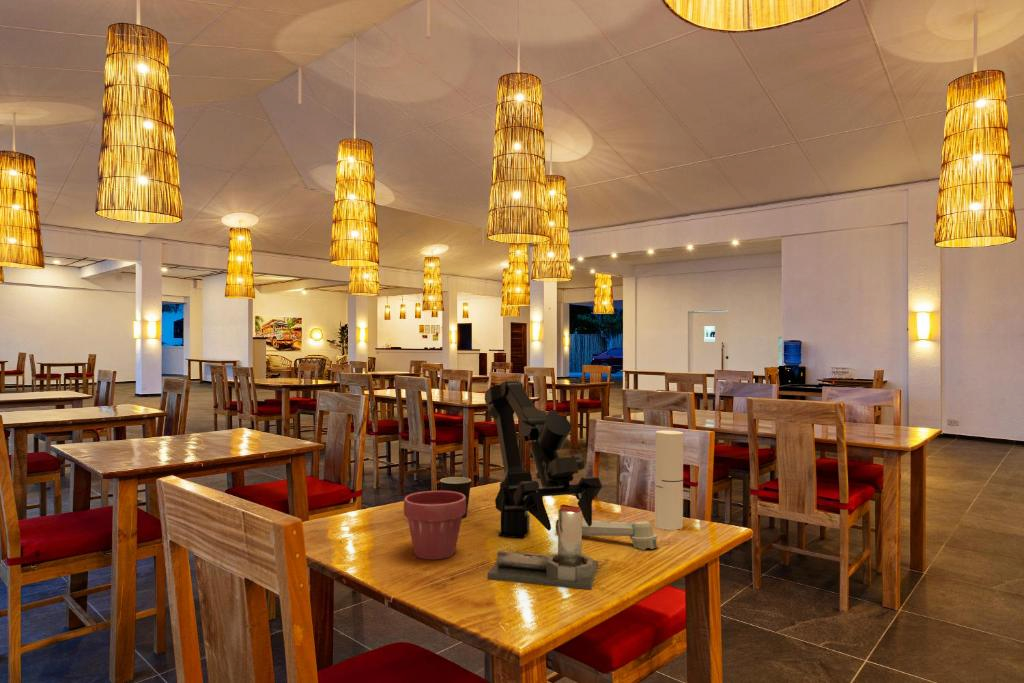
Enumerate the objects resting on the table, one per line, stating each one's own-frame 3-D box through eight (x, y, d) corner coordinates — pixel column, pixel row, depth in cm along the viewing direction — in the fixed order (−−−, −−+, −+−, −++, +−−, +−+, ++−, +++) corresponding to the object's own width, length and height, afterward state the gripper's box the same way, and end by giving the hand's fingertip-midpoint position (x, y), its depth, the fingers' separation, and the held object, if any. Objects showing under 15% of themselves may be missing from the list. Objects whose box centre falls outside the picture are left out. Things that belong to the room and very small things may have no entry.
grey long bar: (561, 515, 157) (657, 515, 145) (564, 542, 156) (660, 544, 144) (553, 520, 152) (651, 521, 140) (556, 547, 151) (655, 550, 140)
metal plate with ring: (487, 578, 122) (487, 557, 122) (504, 557, 135) (504, 538, 135) (590, 589, 117) (591, 567, 117) (597, 566, 130) (597, 546, 130)
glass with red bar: (551, 573, 123) (552, 507, 123) (564, 565, 127) (565, 501, 127) (575, 579, 120) (575, 511, 120) (587, 571, 124) (588, 505, 124)
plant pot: (402, 544, 143) (403, 490, 144) (461, 541, 146) (462, 488, 146) (403, 565, 129) (404, 505, 129) (469, 562, 132) (469, 503, 132)
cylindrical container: (678, 531, 156) (678, 434, 157) (651, 527, 160) (651, 432, 160) (686, 525, 162) (686, 431, 163) (659, 521, 166) (660, 429, 166)
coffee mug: (469, 520, 164) (469, 483, 164) (437, 520, 164) (438, 483, 165) (472, 509, 176) (473, 475, 176) (443, 509, 176) (443, 474, 176)
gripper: (519, 443, 125) (540, 510, 115) (598, 439, 132) (625, 502, 121) (505, 473, 132) (523, 539, 122) (581, 468, 139) (605, 530, 129)
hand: (570, 527), depth 123 cm, fingers open, 9 cm apart
